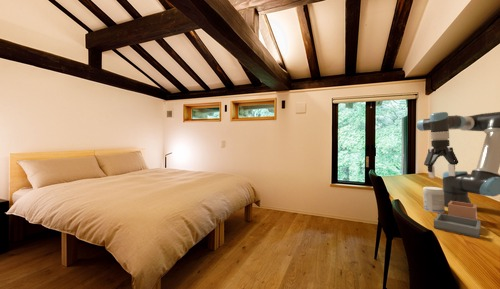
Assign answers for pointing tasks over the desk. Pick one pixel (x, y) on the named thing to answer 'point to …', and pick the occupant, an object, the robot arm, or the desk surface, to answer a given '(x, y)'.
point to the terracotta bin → (462, 209)
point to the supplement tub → (433, 199)
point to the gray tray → (458, 225)
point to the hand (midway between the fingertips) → (441, 176)
